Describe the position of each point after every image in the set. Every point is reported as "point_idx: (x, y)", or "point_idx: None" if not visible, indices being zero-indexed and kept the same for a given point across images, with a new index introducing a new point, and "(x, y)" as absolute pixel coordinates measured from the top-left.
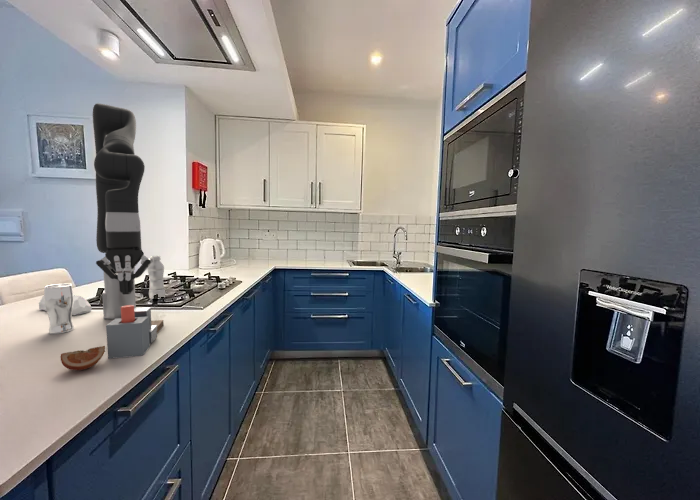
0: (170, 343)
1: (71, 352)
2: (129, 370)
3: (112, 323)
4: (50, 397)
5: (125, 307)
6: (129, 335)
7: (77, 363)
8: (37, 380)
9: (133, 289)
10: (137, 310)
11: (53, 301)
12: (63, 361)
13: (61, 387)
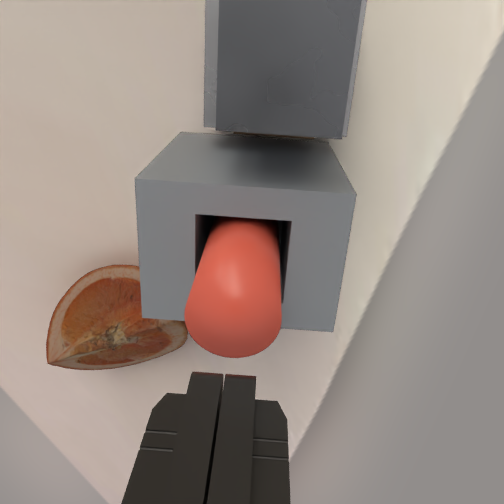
0: (427, 123)
1: (77, 355)
2: (293, 359)
3: (162, 289)
4: (138, 442)
5: (227, 345)
6: None
7: (125, 363)
8: (33, 339)
9: (284, 419)
10: (262, 97)
11: None
12: (77, 367)
13: (135, 402)
